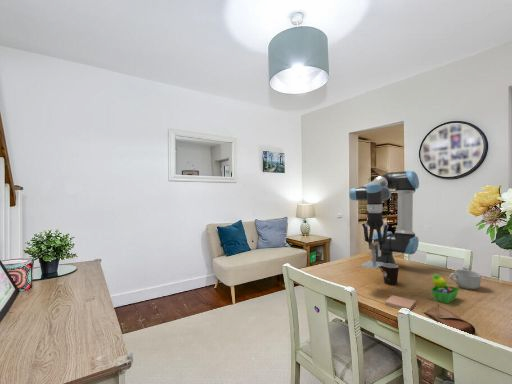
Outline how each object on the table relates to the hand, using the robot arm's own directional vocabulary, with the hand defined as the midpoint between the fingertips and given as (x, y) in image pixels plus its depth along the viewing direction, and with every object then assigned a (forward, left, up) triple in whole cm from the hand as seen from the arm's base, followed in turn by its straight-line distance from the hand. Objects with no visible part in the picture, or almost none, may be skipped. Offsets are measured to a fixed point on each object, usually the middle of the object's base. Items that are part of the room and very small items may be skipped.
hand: (375, 255), depth 139 cm
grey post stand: (+3, 0, -4) cm, 5 cm away
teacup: (-29, +35, -18) cm, 49 cm away
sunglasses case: (+20, +33, -18) cm, 43 cm away
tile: (+9, +15, -17) cm, 25 cm away
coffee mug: (-13, +3, -18) cm, 22 cm away
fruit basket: (-5, +29, -18) cm, 34 cm away
